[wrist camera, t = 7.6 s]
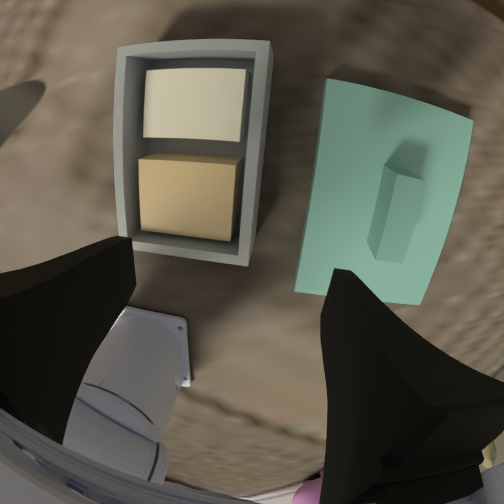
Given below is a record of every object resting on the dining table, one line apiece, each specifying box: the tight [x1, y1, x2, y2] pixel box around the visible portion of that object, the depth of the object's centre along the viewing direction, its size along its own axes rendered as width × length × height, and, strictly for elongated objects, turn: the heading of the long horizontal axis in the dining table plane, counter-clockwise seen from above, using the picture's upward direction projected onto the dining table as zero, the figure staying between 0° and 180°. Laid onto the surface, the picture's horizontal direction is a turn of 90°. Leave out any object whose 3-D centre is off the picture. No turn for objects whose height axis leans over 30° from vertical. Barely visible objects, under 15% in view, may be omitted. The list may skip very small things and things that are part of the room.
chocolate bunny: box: [482, 441, 496, 468], centre depth 24 cm, size 6×8×10 cm
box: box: [113, 39, 274, 266], centre depth 16 cm, size 12×8×4 cm, turn 175°
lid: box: [294, 78, 473, 305], centre depth 16 cm, size 14×10×4 cm
